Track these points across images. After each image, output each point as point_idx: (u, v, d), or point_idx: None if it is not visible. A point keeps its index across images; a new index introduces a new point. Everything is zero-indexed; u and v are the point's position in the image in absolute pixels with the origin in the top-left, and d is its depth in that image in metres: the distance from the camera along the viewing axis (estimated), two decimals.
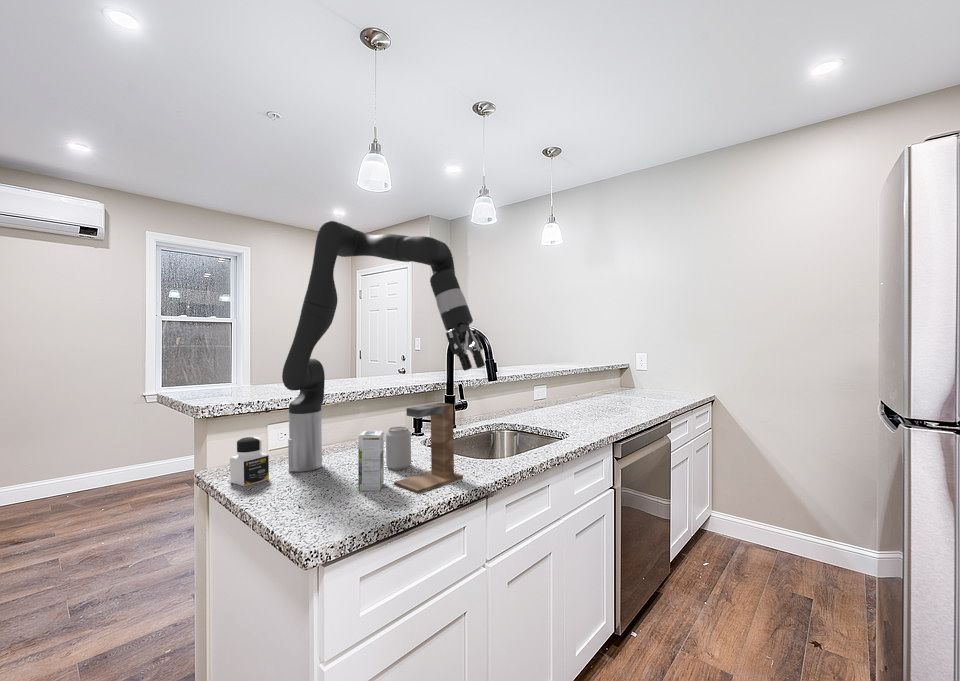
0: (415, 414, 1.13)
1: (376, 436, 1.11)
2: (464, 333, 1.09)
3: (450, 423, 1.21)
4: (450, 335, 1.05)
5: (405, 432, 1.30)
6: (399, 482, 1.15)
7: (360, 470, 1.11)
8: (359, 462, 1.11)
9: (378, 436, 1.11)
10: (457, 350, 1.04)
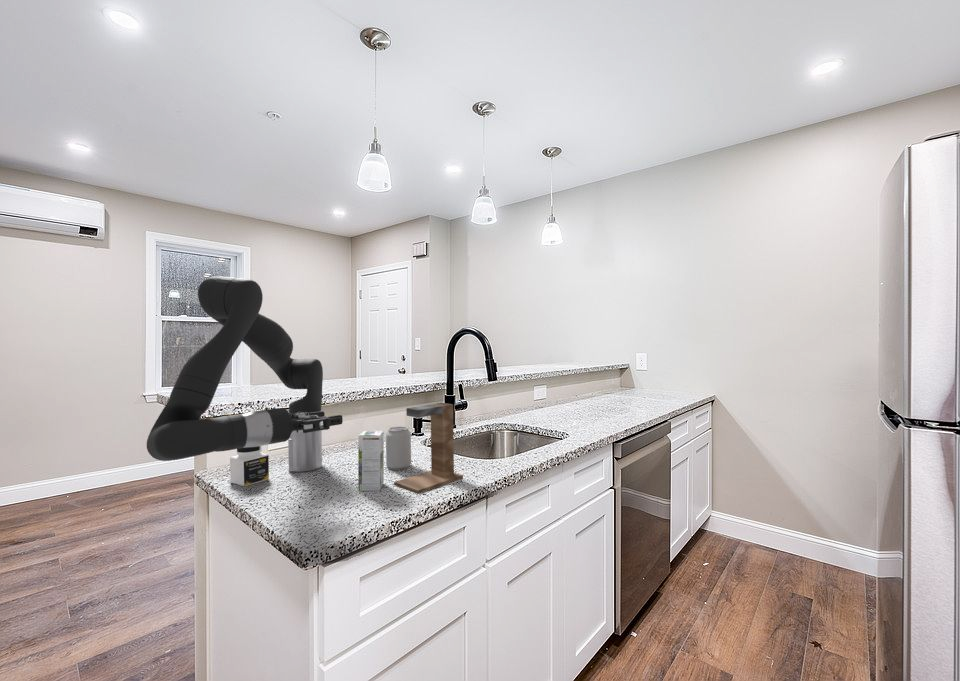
0: (415, 414, 1.13)
1: (376, 436, 1.11)
2: None
3: (450, 423, 1.21)
4: None
5: (405, 432, 1.30)
6: (399, 482, 1.15)
7: (360, 470, 1.11)
8: (359, 462, 1.11)
9: (378, 436, 1.11)
10: None
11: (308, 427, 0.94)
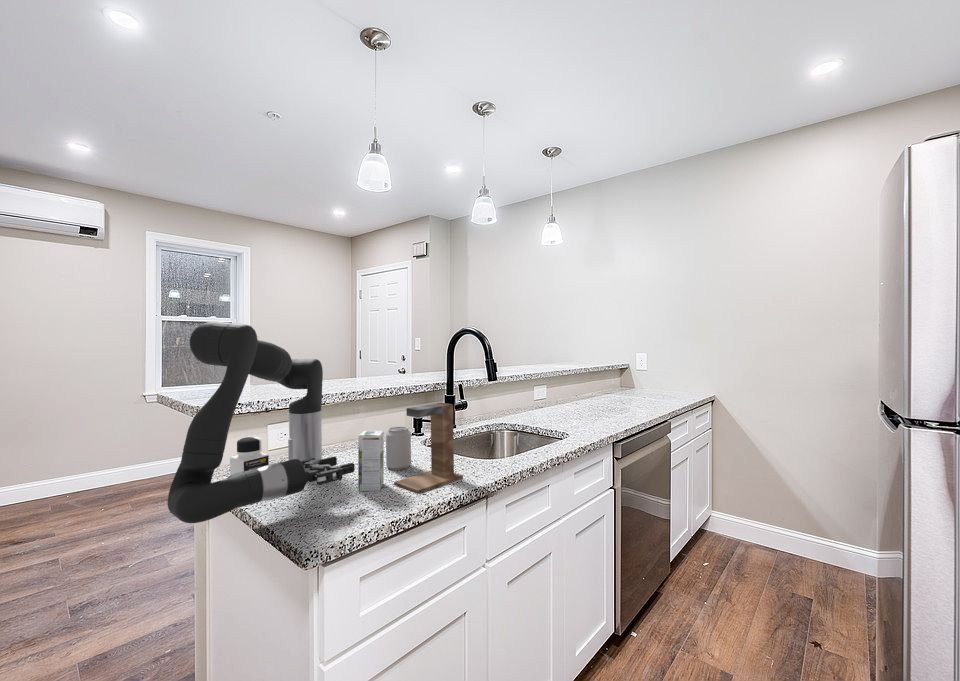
0: (415, 414, 1.13)
1: (376, 436, 1.11)
2: None
3: (450, 423, 1.21)
4: None
5: (405, 432, 1.30)
6: (399, 482, 1.15)
7: (360, 470, 1.11)
8: (359, 462, 1.11)
9: (378, 436, 1.11)
10: None
11: (322, 479, 0.97)
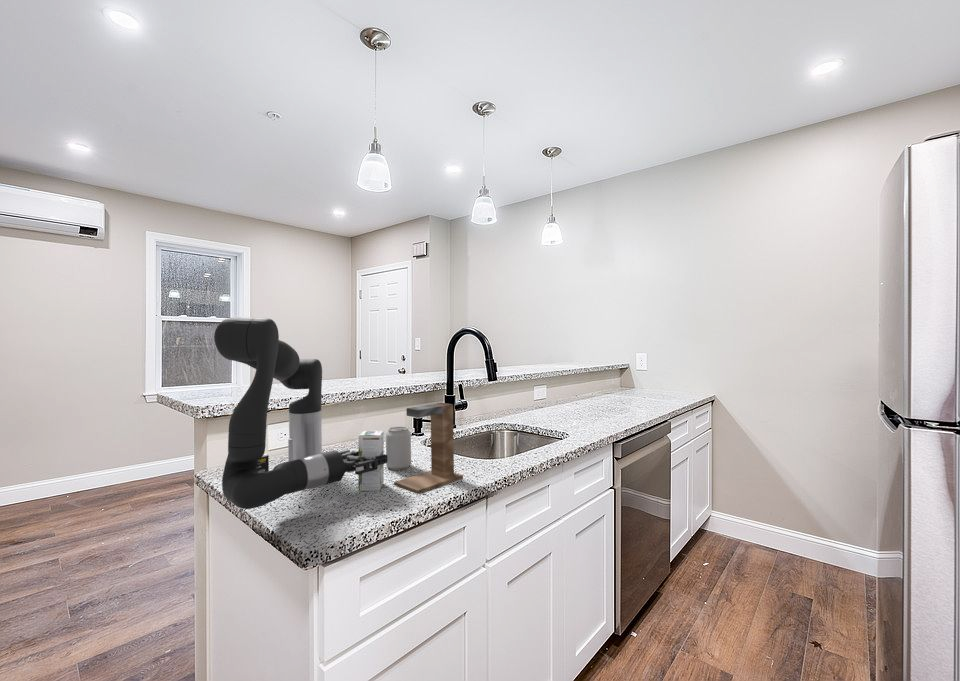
0: (415, 414, 1.13)
1: (376, 436, 1.11)
2: None
3: (450, 423, 1.21)
4: None
5: (405, 432, 1.30)
6: (399, 482, 1.15)
7: None
8: None
9: (378, 436, 1.11)
10: None
11: (360, 469, 1.04)
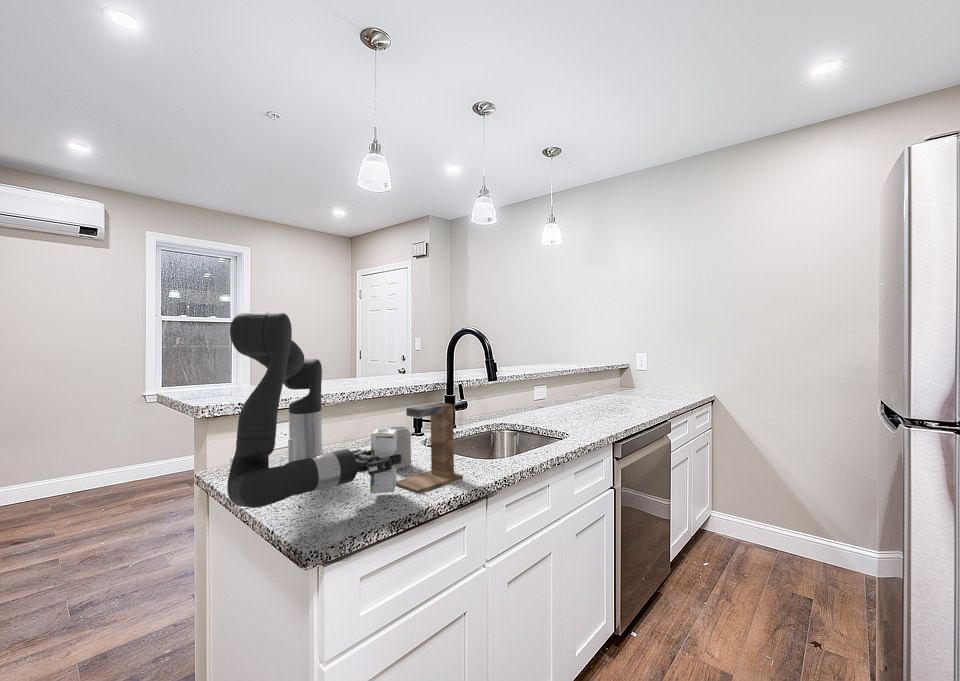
0: (415, 414, 1.13)
1: (390, 434, 1.05)
2: None
3: (450, 423, 1.21)
4: None
5: (405, 432, 1.30)
6: (399, 482, 1.15)
7: None
8: None
9: (392, 434, 1.05)
10: None
11: (373, 469, 0.97)
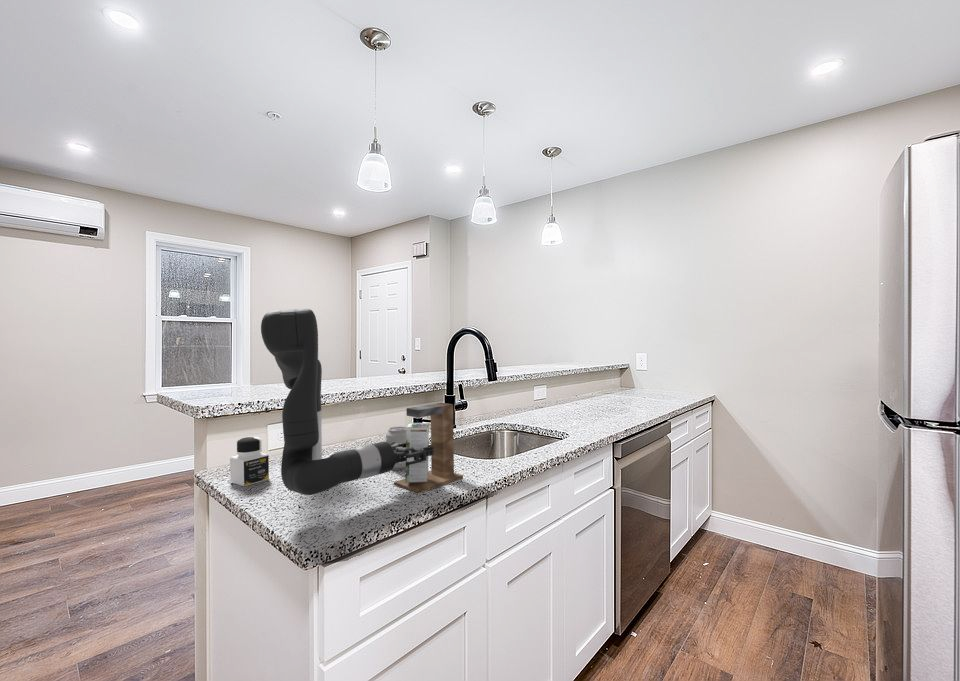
0: (415, 414, 1.13)
1: (423, 428, 1.13)
2: None
3: (450, 423, 1.21)
4: None
5: (405, 432, 1.30)
6: (399, 482, 1.15)
7: None
8: None
9: (425, 428, 1.13)
10: None
11: (410, 460, 1.05)
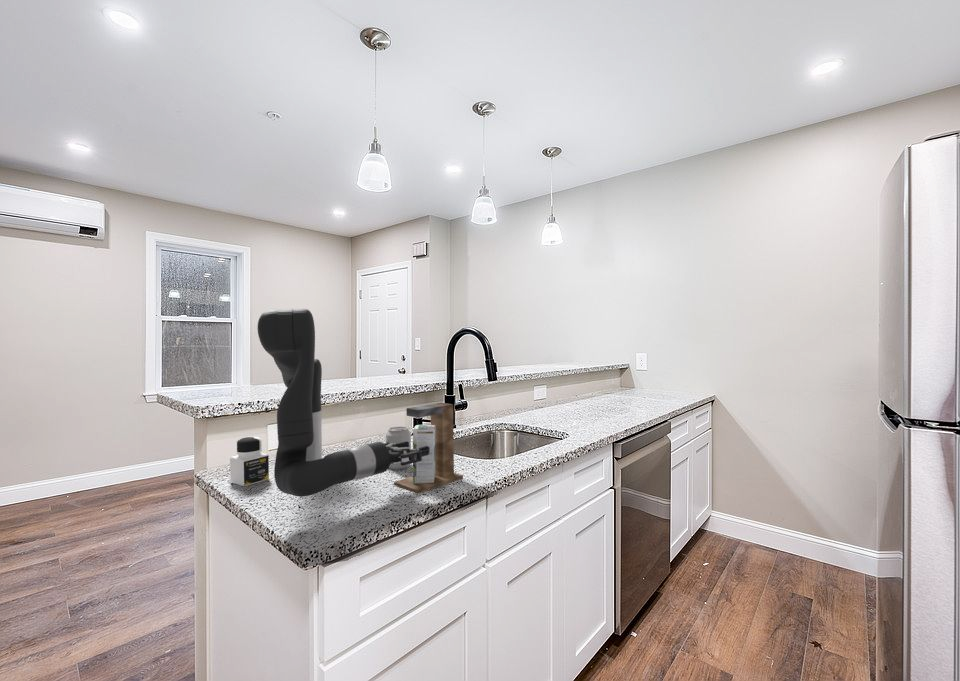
0: (415, 414, 1.13)
1: (430, 430, 1.14)
2: None
3: (450, 423, 1.21)
4: None
5: (405, 432, 1.30)
6: (399, 482, 1.15)
7: (414, 463, 1.14)
8: None
9: (432, 430, 1.14)
10: None
11: (405, 460, 1.04)
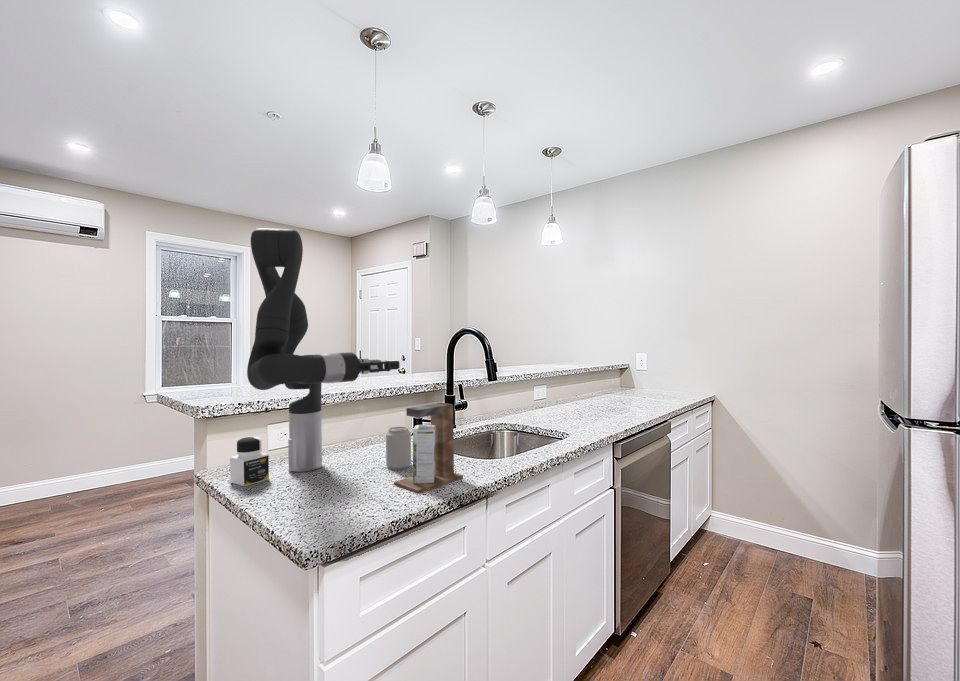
0: (415, 414, 1.13)
1: (430, 430, 1.14)
2: None
3: (450, 423, 1.21)
4: None
5: (405, 432, 1.30)
6: (399, 482, 1.15)
7: (414, 463, 1.14)
8: (414, 455, 1.14)
9: (432, 430, 1.14)
10: None
11: (374, 367, 1.09)
